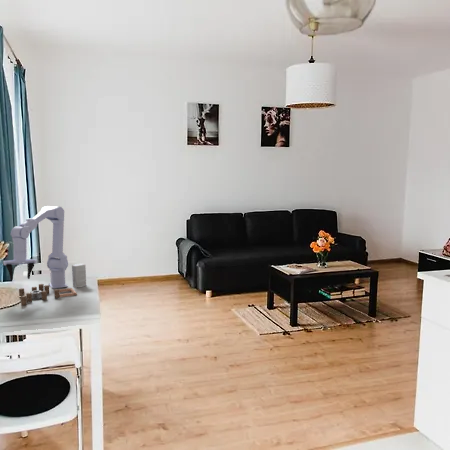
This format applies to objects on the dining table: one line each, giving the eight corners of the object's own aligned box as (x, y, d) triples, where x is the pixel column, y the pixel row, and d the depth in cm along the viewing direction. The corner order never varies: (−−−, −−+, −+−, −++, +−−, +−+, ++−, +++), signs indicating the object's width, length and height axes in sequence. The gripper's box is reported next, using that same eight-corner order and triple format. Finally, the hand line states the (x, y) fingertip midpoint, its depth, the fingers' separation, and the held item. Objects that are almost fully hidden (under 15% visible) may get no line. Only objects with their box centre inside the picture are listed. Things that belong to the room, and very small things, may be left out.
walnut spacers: (15, 294, 242) (15, 287, 241) (53, 289, 251) (53, 282, 251) (21, 305, 224) (21, 297, 224) (61, 300, 234) (61, 292, 233)
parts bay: (54, 292, 247) (54, 290, 247) (71, 290, 251) (71, 287, 251) (59, 297, 238) (59, 295, 238) (76, 295, 242) (76, 292, 242)
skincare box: (82, 284, 262) (82, 263, 261) (86, 285, 259) (85, 264, 258) (72, 286, 258) (71, 264, 257) (76, 288, 255) (75, 266, 254)
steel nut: (29, 296, 239) (29, 291, 238) (40, 295, 241) (40, 289, 241) (31, 299, 234) (31, 293, 233) (42, 298, 236) (42, 292, 236)
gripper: (4, 253, 222) (4, 281, 223) (37, 251, 230) (37, 279, 231) (2, 251, 228) (2, 278, 229) (34, 249, 236) (34, 276, 237)
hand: (20, 279), depth 230 cm, fingers open, 7 cm apart
